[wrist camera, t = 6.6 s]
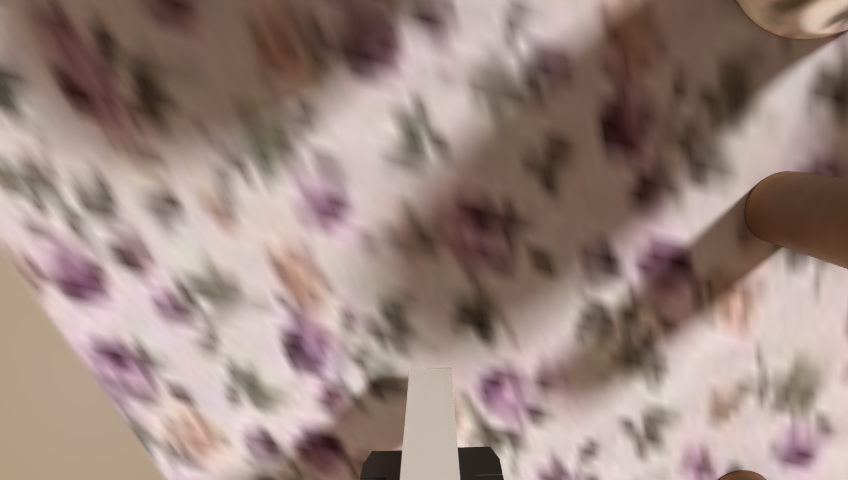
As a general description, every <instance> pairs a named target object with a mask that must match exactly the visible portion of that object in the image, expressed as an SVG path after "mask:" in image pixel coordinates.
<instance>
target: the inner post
mask: <svg viewBox="0 0 848 480" xmlns="http://www.w3.org/2000/svg"><path fill="white" fill-rule="evenodd" d="M745 219H746V223H747V226H748V227H749V229H750V231H751V232H752V233H753V234H754V235H755V236H757V237H758V238H760V239H762V240H765V241H768V242H771V243H774V244H777V245H779V246H782V247H785V248H788V249H791V250H794V251H797V252H800V253H803V254H806V255H809V256H812V257H815V258H818V259H820V260H823V261H826V262H829V263H832V264H835V265H838V266H841V267H844V268H847V269H848V179H847V178H839V177H831V176H823V175H815V174H807V173H799V172H790V171H786V172H779V173H776V174H773V175H771V176H769V177H767V178H765V179H764V180H762V181H761V182H760V183H759V184H758V185H757V186H756V187H755V188H754V189H753V191H752V192H751V194H750V195H749V198H748V200H747V203H746V207H745Z"/></svg>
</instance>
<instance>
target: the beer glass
mask: <svg viewBox="0 0 848 480" xmlns="http://www.w3.org/2000/svg"><path fill="white" fill-rule="evenodd" d="M737 2H738V4H739V5H740V7H741V8H742V10H743V11H744V12H745V13H746V14H747V16H748V17H749V18H750V19H751V20H753V21H754V22H755V23H756V24H758V25H759V26H760V27H762V28H764V29H765V30H767V31H769V32H771V33H774V34H776V35H779V36H783V37H787V38H794V39H814V38H821V37H826V36H830V35H834V34H837V33H840V32H843V31H846V30H848V0H737Z"/></svg>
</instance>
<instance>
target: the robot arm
mask: <svg viewBox="0 0 848 480" xmlns="http://www.w3.org/2000/svg"><path fill="white" fill-rule="evenodd" d="M360 480H504V479H503V475H502V469H501V464H500V459H499V458H498V456H497V455H496V454H495V453H494V451H493V450H492V449H491V448H490V447H464V448H458V447H457V435H456V423H455V410H454V398H453V386H452V374H451V368H434V369H410V370H409V381H408V392H407V404H406V415H405V426H404V438H403V449H402V451H372V453H371V454H370V455H369V457H368V458H367V459H366V461H365V462H364V463H363V467H362V472H361V477H360Z"/></svg>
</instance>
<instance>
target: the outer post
mask: <svg viewBox="0 0 848 480" xmlns="http://www.w3.org/2000/svg"><path fill="white" fill-rule="evenodd" d="M719 480H766V479H765V478H764V477H763V476H762V475H760V474H758V473H756V472H752V471H736V472H732V473H729V474H727V475H725V476H723V477H722V478H721V479H719Z"/></svg>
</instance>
